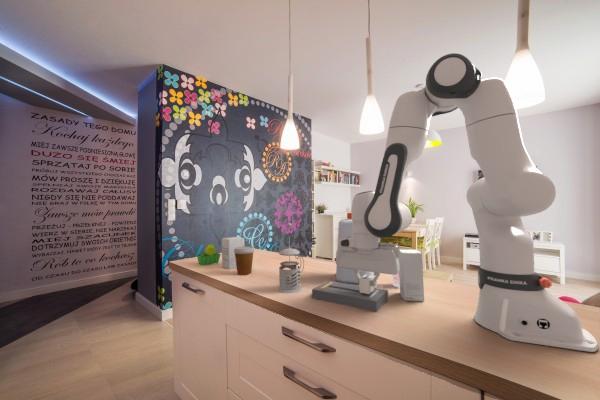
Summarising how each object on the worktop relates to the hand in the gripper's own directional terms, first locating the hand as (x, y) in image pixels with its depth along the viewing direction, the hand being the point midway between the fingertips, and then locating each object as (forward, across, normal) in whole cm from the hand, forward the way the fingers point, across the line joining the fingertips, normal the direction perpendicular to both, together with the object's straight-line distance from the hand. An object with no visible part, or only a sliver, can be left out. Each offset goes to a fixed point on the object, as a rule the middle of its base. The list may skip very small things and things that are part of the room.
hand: (366, 284), depth 85 cm
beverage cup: (+6, -5, -23) cm, 24 cm away
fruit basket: (+6, +93, -11) cm, 94 cm away
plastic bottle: (+6, +13, -23) cm, 27 cm away
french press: (+6, +29, +1) cm, 30 cm away
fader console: (+6, +6, 0) cm, 8 cm away
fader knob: (+2, 0, 0) cm, 2 cm away
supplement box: (+6, +76, -13) cm, 77 cm away
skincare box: (+6, -11, -12) cm, 17 cm away
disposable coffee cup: (+6, +61, -6) cm, 62 cm away
